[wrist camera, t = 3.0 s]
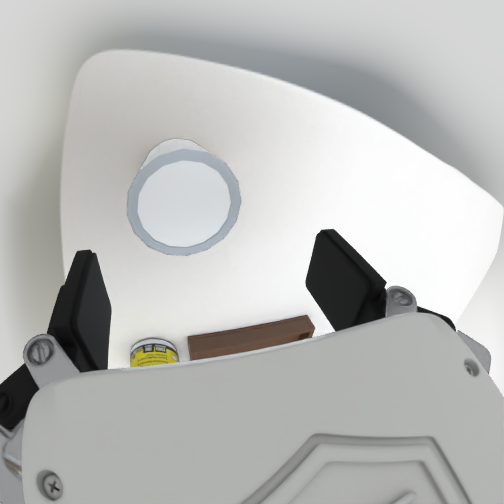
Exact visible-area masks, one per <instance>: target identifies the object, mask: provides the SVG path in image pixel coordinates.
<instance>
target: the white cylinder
mask: <svg viewBox="0 0 504 504" xmlns="http://www.w3.org/2000/svg"><path fill="white" fill-rule="evenodd" d="M240 205H241V196H240V190H239V183H238V180H237V179H236V177H235V176H234V174H233V173H232V171H231V170H230V168H229V167H228V166H227V164H226V163H225V162H223V161H222V160H220V159H219V158H217V157H216V156H214V155H213V154H211V153H210V152H208V151H207V150H205V149H204V148H202V147H200V146H199V145H197V144H195V143H194V142H192V141H190V140H185V139H172V140H168V141H165V142H162V143H160V144H159V145H158V146H156V147H155V148H154V149H153V150H151V151H150V153H149V155H148V156H147V158H146V160H145V162H144V163H143V165H142V167H141V169H140V170H139V172H138V174H137V176H136V178H135V179H134V181H133V183H132V185H131V187H130V189H129V191H128V200H127V216H128V218H129V221H130V224H131V226H132V229H133V231H134V233H135V234H136V235H137V236H138V237H139V238H140V239H141V240H142V241H143V242H144V243H145V244H146V245H147V246H148V247H150V248H152V249H154V250H157V251H159V252H162V253H164V254H167V255H185V256H188V255H191V254H195V253H198V252H201V251H205V250H208V249H209V248H211V247H212V246H214V245H215V244H216V243H218V242H219V241H221V240H222V239H224V238H225V236H226V235H227V234H228V232H229V231H230V229H231V228H232V227H233V225H234V224H235V222H236V221H237V217H238V213H239V209H240Z"/></svg>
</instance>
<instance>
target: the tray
mask: <svg viewBox="0 0 504 504" xmlns="http://www.w3.org/2000/svg"><path fill="white" fill-rule="evenodd" d="M314 330H315V327H314V325H313V323H312V322H311V320H310V319H309V317H308V315H305V316H301V317H296V318H291V319H287V320H282V321H277V322H272V323H267V324H262V325H257V326H251V327H246V328H240V329H235V330H229V331H223V332H217V333H210V334H204V335H197V336H190V337H188V345H189V352H190V359H191V361H193V360H200V359H207V358H213V357H219V356H225V355H231V354H237V353H243V352H248V351H253V350H259V349H264V348H268V347H273V346H278V345H283V344H287V343H292V342H296V341H300V340H304V339H309V338H312V335H313V333H314Z"/></svg>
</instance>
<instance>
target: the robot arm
mask: <svg viewBox="0 0 504 504" xmlns="http://www.w3.org/2000/svg"><path fill="white" fill-rule="evenodd" d="M386 283H387V282H386V281H385V280H384V279H383V278H382V277H381V276H380V275H379V274H378V273H377V272H376V271H375V270H374V268H373V267H372V266H371V265H370V264H369V263H368V262H367V261H366V260H365V259H364V258H363V257H362V256H361V255H360V254H359V253H358V252H357V251H356V250H355V249H354V248H353V247H352V246H351V245H350V244H349V243H348V242H347V241H346V240H345V239H344V238H343V237H342V236H340V235H339V234H338V233H337V232H336V231H335V230H334V229H326V230H321V231H320V233H318V234H317V236H316V240H315V244H314V248H313V252H312V257H311V261H310V265H309V269H308V273H307V277H306V287H307V289H308V290H309V292H310V293H311V295H312V296H313V298H314V299H315V301H316V302H317V304H318V305H319V307H320V308H321V310H322V311H323V313H324V314H325V316H326V317H327V319H328V320H329V322H330V324H331V325H332V327H333V328H334V330H335V331H336V332H332V333H329V334H325V335H321V336H317V337H313V338H309V339H304V340H300V341H296V342H292V343H287V344H283V345H278V346H273V347H268V348H264V349H259V350H253V351H248V352H243V353H237V354H231V355H225V356H219V357H213V358H207V359H200V360H193V361H185V362H177V363H169V364H159V365H150V366H141V367H130V368H118V369H108V348H109V333H110V322H111V304H110V300H109V297H108V294H107V291H106V288H105V284H104V281H103V277H102V274H101V270H100V266H99V263H98V259H97V255H96V253H92V251H91V250H81V251H77V252H76V255H75V257H74V260H73V262H72V265H71V268H70V271H69V273H68V276H67V279H66V282H65V285H63V286H61V288H60V291H59V293H58V297H57V300H56V303H55V306H54V309H53V313H52V316H51V320H50V323H49V328H48V331H47V334H40V335H37V336H35V337H33V338H32V339H30V340H29V341H28V343H27V344H26V346H25V348H24V351H23V358H24V362H25V363H24V364H23V365H22V366H21V367H20V368H19V369H17V370H16V371H15V372H14V373H13V374H11V375H10V376H9V377H8V378H7V379H6V380H5V381H4V382H3V383H1V384H0V503H1V504H504V397H503V396H502V394H501V393H500V391H499V389H498V388H497V386H496V385H495V383H494V382H493V380H492V379H491V377H490V376H489V370H490V364H491V355H490V353H489V351H488V350H487V349H486V348H485V347H484V346H482V345H481V344H480V343H478V342H476V341H475V340H473V339H472V338H470V337H469V336H467V335H465V334H464V333H462V332H461V331H459V330H458V331H457V332H456V329H455V326H454V324H453V323H452V321H451V320H450V319H449V318H448V317H446V316H443V315H440V314H438V313H435V312H432V311H430V310H427V309H424V308H421V307H419V306H417V302H416V298H415V297H414V295H413V294H412V293H411V292H410V291H409V290H407V289H405V288H403V287H400V286H391V287H389V288H388V289H387V290H386V289H385V288H384V287H385V285H386Z"/></svg>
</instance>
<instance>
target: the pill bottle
mask: <svg viewBox="0 0 504 504" xmlns="http://www.w3.org/2000/svg"><path fill="white" fill-rule="evenodd" d="M177 362H179V358H178V353H177V350H176V348H175V347H174V346H173V345H172V344H170V343H169V342H167V341H163V340H158V339H149V340H144V341H141V342H139V343H137V344H135V345H134V346H133V348H132V350H131V353H130V366H131V367H141V366H150V365H159V364H169V363H177Z"/></svg>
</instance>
